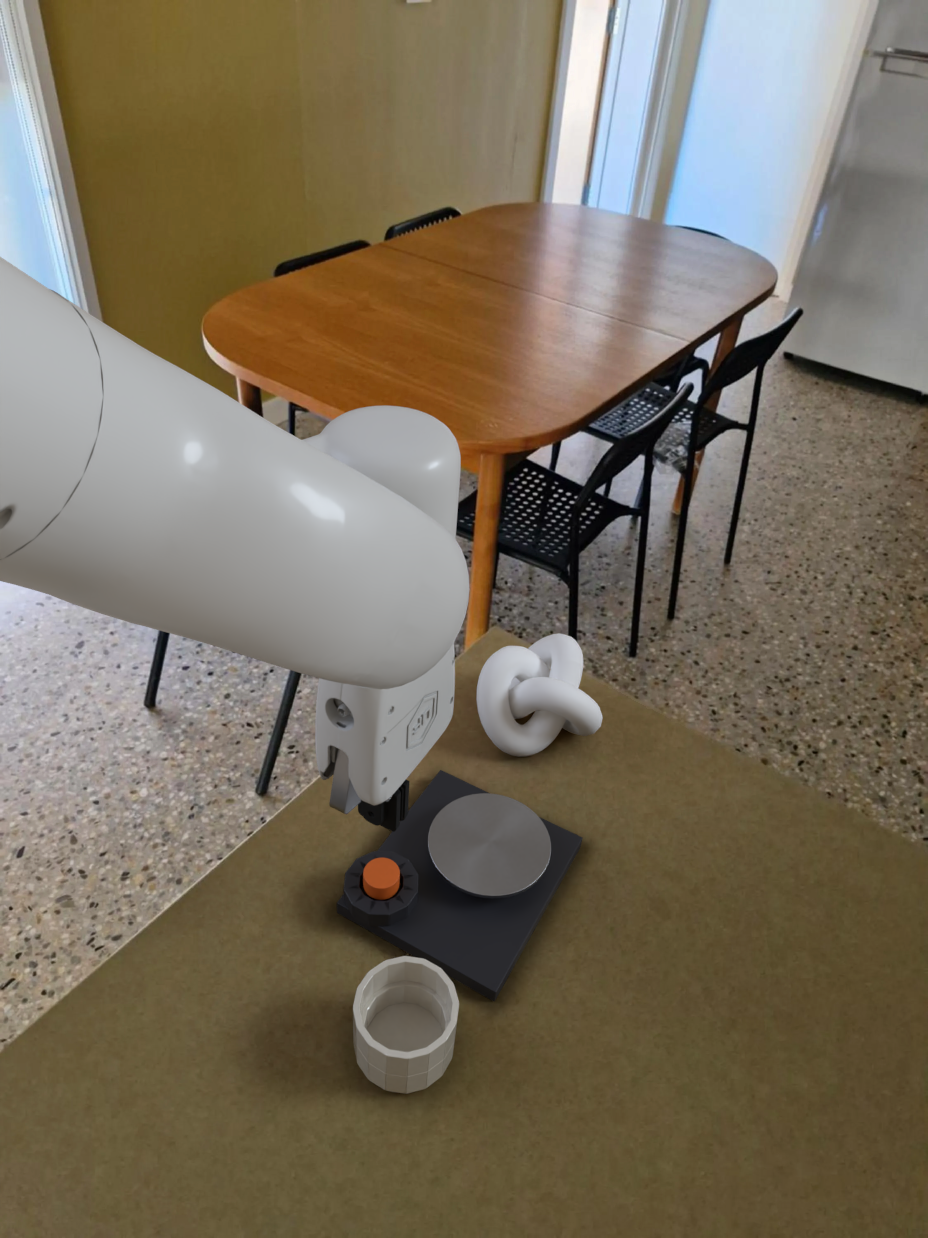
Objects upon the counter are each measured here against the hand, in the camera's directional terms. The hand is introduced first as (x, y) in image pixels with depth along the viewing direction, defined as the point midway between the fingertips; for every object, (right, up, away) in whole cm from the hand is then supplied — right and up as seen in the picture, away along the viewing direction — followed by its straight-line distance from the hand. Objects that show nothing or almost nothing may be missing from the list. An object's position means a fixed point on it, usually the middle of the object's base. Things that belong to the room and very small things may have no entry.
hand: (383, 815), depth 64 cm
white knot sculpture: (+12, +3, +23) cm, 26 cm away
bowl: (+2, -16, -2) cm, 16 cm away
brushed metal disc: (+8, -4, +8) cm, 12 cm away
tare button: (-1, -7, +5) cm, 8 cm away
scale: (+6, -7, +9) cm, 13 cm away
